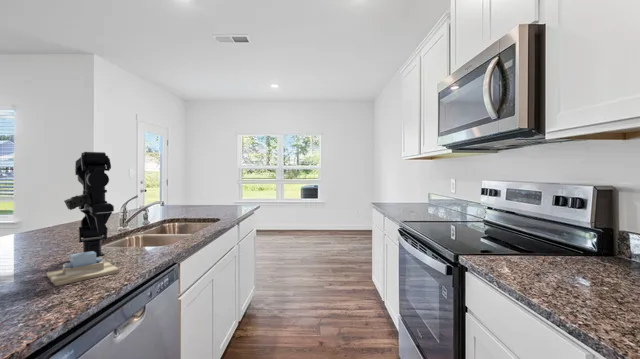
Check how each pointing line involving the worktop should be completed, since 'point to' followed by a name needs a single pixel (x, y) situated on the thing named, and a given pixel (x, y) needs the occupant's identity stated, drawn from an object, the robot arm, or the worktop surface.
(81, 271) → the chassis pocket
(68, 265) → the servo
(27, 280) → the worktop surface
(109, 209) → the robot arm
